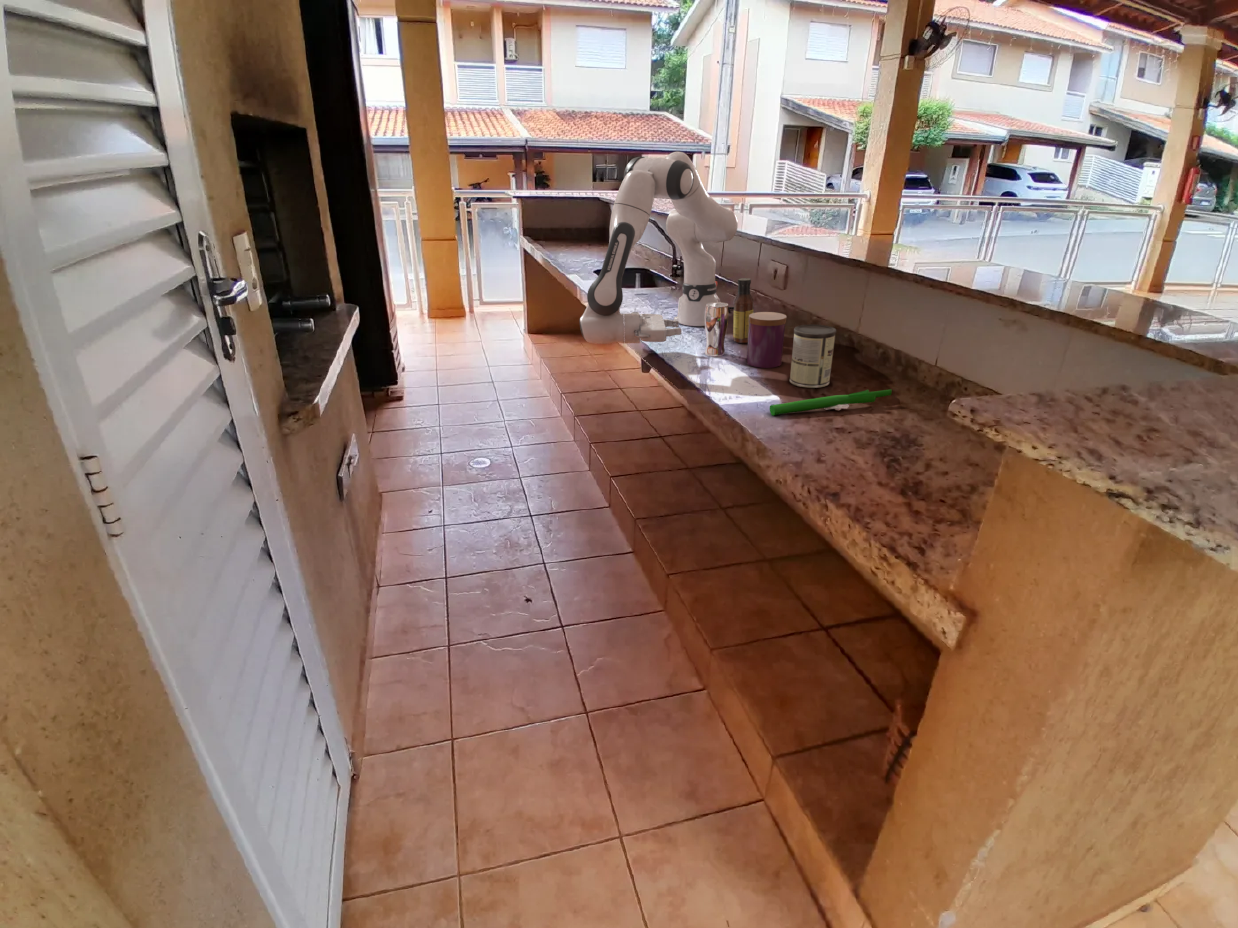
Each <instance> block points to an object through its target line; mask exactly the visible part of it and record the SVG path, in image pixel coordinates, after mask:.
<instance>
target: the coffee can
mask: <svg viewBox="0 0 1238 928" xmlns="http://www.w3.org/2000/svg"><path fill="white" fill-rule="evenodd" d="M836 333H837V329H836V328H835V327H832V326H829V325H825V324H824V325H823V324H814V323H813V324H801V325H797V326H795V327H794V328H793V340H792V341H793V343H792V352H791V363H790V375H789V383H790V384H792V385H793V386H797V387H800V388H806V389H807V388H808V389H815V388H816V389H817V388H820V389H821V388H824V387H827V386H829V385H830V379H831V371H832V363H833V356H834V348H835V340H836Z"/></svg>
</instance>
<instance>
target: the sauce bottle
mask: <svg viewBox="0 0 1238 928" xmlns="http://www.w3.org/2000/svg"><path fill="white" fill-rule="evenodd" d="M751 284H752V279H751V278H750V277H741V278H738V279H737V295H736V296H735V297H734V300H733V307H734V309H733V323H732V324H733V326H732V327H733V330H732V331H733V332H732V333H733V334H732V336H733V342H735V343H737V344H748V331H749V321H748V320H749V315H750V314H752V313H754V298H753V296H752V294H751Z"/></svg>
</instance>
